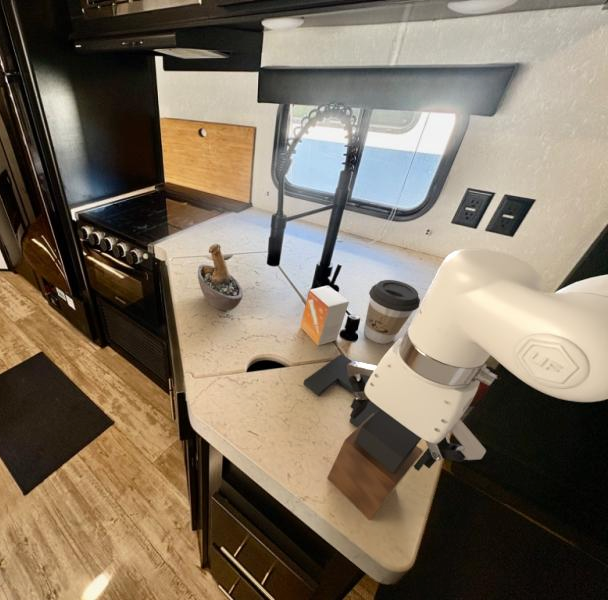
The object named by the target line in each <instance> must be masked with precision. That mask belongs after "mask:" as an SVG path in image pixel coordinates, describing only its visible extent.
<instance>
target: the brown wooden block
mask: <svg viewBox="0 0 608 600" xmlns="http://www.w3.org/2000/svg"><path fill="white" fill-rule="evenodd" d="M373 415H374V413H373V414H372V415H371V416H370V417H369V418H367V419H366V420H365V421H364V422H363V423H362V424H361V425H360V426H359V427H358V428H357V427H356V429H355V430H354V431H352V433H350V434H349V435H348V436H347V437H346V438H345V439H344V440H343V442H342V445H341V447H340V449H339V451H338V453H337V456H336V458H335V460H334V462H333V464H332V467H331V468H330V471H329V473H328V475H327V477H326V479H328V481H329V482H331V484H332V485H334V486H335V487H336V489H338V491H340V493H342V495H344V497H346V498H347V499H348V501H350V503H352V505H353V506H355V508H356V509H358V510H359V511H360V512H361V514H363V515H364V516H365V517H366V518H367V519H368V521H370V520H372V518H373V517H374V516H375V515H376V513H378V511H379V510H380V508H381V507H382V505H384V503H386V501H387V500H388V498H389V497H390V496H391V495H392V494H393V492H394V491H395V490H396V488H398V486H399V485H400V483H401V481H403V479H404V478H405V476H406V475H407V474H408V472H409V471H410V470H411V469H412V468H413V467H414V465H415V464H416V462H417V461H418V460H419V459H420V457H421V456H422V455H423V454H424V450H423V449H422V448H420V447H419V446H418V445H417V446H416V447H415V448H414V450H413V451H412V452H411V453H410V454H409V456H408V457H407V458H406V459H405V460H404V462H403V463H402V464H401V465H400V466H399V468H398V469H397V470H396V471H395V472H394V473H393V474H392V473H391V472H390V471H389V470H388V469H387V468H385V467H384V466H383V465H382V464H381V463H380V462H378V461H377V460H376V459H375V458H374V457H372V456H371V455H370V454H369V453H368V452H367V451H365V450H364V449H363V448H362V447H361V446H359V445H358V444H357V443H356V442H355V439H356V437H357V435H358V433H359V431H360V429H361V427H362V426H363V425H364V424H365V423H366V422H367V421H368V420H369V419H370V418H371V417H372V416H373Z"/></svg>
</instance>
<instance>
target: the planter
mask: <svg viewBox="0 0 608 600" xmlns="http://www.w3.org/2000/svg"><path fill="white" fill-rule="evenodd" d="M221 248H222V247H221V244H219V243H214V244H211V246H209V249H208V253H209V254H210V255H211V258H212V259H211V260H212V262H213V265H209V264H200V265H199V266H198V269H197V278H198V283H199V287H200V290H201V292H202V294H203V297H204V299H206V301H207V302H208V303H209V305H211V306H212V307H214V309H216V310H219V311H222V312H223V311H224V312H226V311H232V310H234V309H235V308H236V307H238V305H239V304H240V302H241V301H242V299H243V295H244V293H243V292H244V291H243V289H242V286H241V285H240V283H239V281H238V280H237V279H236V278H235V277H234V276H233V275H231V274H230V273H229V270H228V266H227V263H226V260H225V258H224V255H223V253H222V249H221Z"/></svg>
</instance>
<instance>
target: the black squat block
mask: <svg viewBox="0 0 608 600" xmlns="http://www.w3.org/2000/svg"><path fill="white" fill-rule="evenodd" d="M421 440H423V439H422V438H420V437H419V436H418V435H416V434H415V433H413V432H412V431H410V430H409V429H408V428H406V427H405V426H404V425H402V424H401V423H399V422H398V421H397V420H395V419H394V418H393V417H391V416H390V415H389V414H387V413H386V412H385V411H383V410H382V409H379V410H378V411H377V412H376V413H375V414H374V415H373V416H372V417H371V418H370V419H369V420H368V421H367V422H366V423H365V424H364V425H363V426H362V427H361V429H360V431H359V433H358V435H357V437H356V439H355V442H356V443H357V444H358V445H359V446H361V447H362V448H363V449H364V450H365V451H367V452H368V453H369V454H370V455H371V456H372V457H374V458H375V459H376V460H377V461H378V462H380V463H381V464H382V465H383V466H384V467H385V468H387V469H388V470H389V471H390V472H391V473H392V474H393V473H394V472H395V471H396V470H397V469H398V468H399V466H400V465H401V464H402V463H403V462H404V460H405V459H406V458H407V457H408V456H409V454H410V453H411V452H412V451H413V450H414V448H415V447H416V446H418V444H419V443H420V441H421Z"/></svg>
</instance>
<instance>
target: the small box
mask: <svg viewBox="0 0 608 600" xmlns="http://www.w3.org/2000/svg"><path fill="white" fill-rule="evenodd" d="M349 304H350V301H349V300H348V299H346V297H344V296H343V295H342V294H340V293H339V292H338V291H336V290H335V289H334V288H333V287H331V286H330V285H324V286H319V287H316V288H311V289H309V290H308V293H307V297H306V302H305V306H304V310H303V314H302V319H301V323H300V329H301V330H302V331H304V333H305V334H306V335H307V336H308V337H309V338H310V339H311V340H312V341H313V342H314V344H315V345H317V346H322V345H325V344H328V343H332V342H334V341H337V340H338V337H339V334H340V331H341V328H342V325H343V322H344V319H345V315H346V313H347V309H348V307H349Z"/></svg>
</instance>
